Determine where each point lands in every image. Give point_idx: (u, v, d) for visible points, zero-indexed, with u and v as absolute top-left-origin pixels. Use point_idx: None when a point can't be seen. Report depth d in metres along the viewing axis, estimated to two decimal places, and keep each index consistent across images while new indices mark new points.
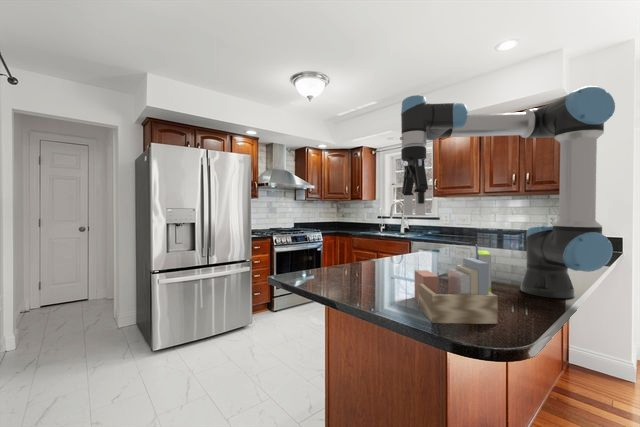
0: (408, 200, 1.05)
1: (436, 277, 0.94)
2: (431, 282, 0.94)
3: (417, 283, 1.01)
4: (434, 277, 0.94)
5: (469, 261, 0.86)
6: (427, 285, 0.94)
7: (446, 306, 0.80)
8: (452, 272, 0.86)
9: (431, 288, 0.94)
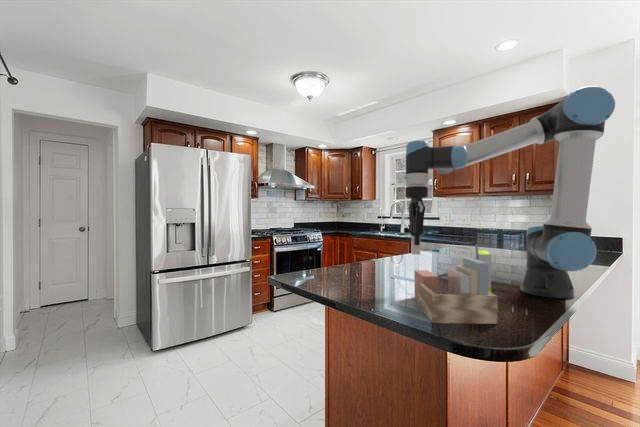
0: None
1: (436, 277, 0.94)
2: (431, 282, 0.94)
3: (417, 283, 1.01)
4: (434, 277, 0.94)
5: (469, 261, 0.86)
6: (427, 285, 0.94)
7: (446, 306, 0.80)
8: (452, 272, 0.86)
9: (431, 288, 0.94)
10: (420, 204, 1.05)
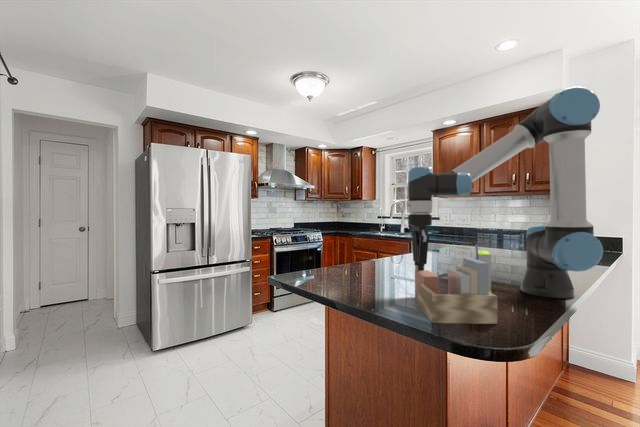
0: (419, 269, 1.06)
1: (437, 277, 0.93)
2: (431, 282, 0.93)
3: (417, 283, 1.00)
4: (435, 277, 0.93)
5: (469, 261, 0.86)
6: (428, 285, 0.93)
7: (446, 306, 0.80)
8: (452, 272, 0.86)
9: (432, 288, 0.93)
10: (424, 233, 1.01)
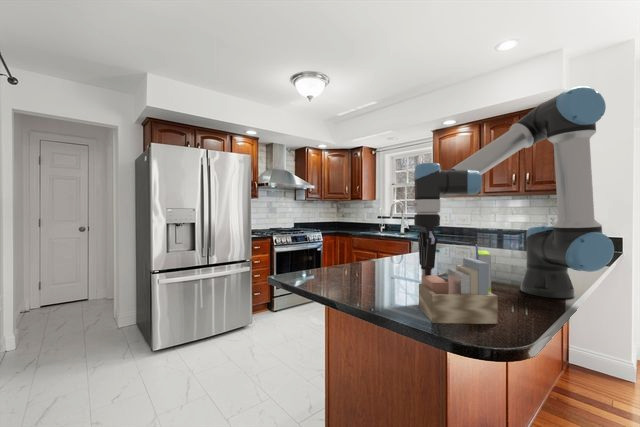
0: None
1: (446, 283, 0.85)
2: (440, 288, 0.85)
3: None
4: (444, 283, 0.85)
5: (469, 261, 0.86)
6: (436, 292, 0.85)
7: (446, 306, 0.80)
8: (452, 272, 0.86)
9: None
10: (431, 235, 0.93)
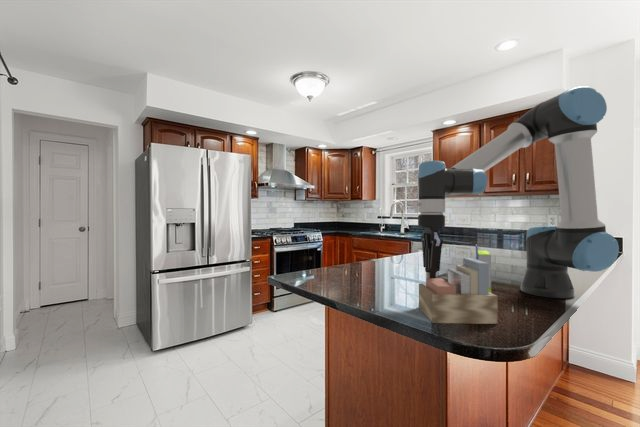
0: None
1: (453, 287, 0.81)
2: (447, 292, 0.81)
3: None
4: (451, 287, 0.81)
5: (469, 261, 0.86)
6: None
7: (446, 306, 0.80)
8: (452, 272, 0.86)
9: None
10: (436, 236, 0.89)
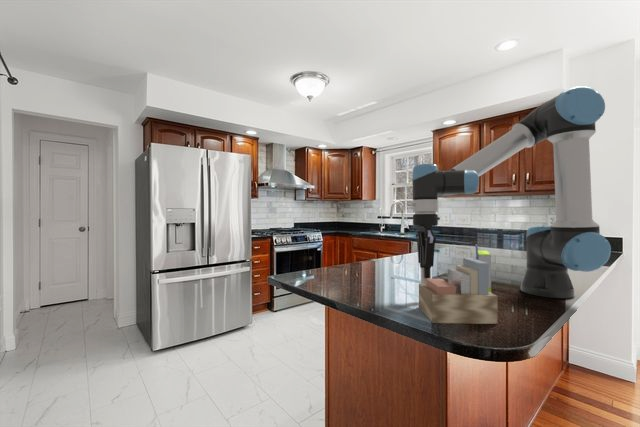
0: None
1: (453, 288, 0.81)
2: (447, 293, 0.81)
3: None
4: (451, 288, 0.81)
5: (469, 261, 0.86)
6: None
7: (446, 306, 0.80)
8: (452, 272, 0.86)
9: None
10: (430, 234, 0.95)
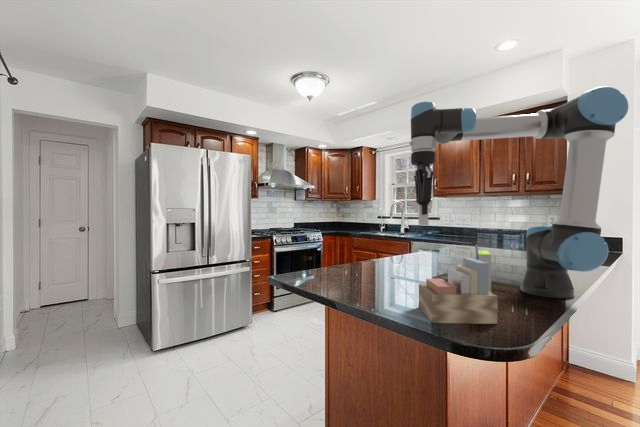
0: None
1: (453, 288, 0.81)
2: (447, 293, 0.81)
3: None
4: (451, 288, 0.81)
5: (469, 261, 0.86)
6: None
7: (446, 306, 0.80)
8: (452, 272, 0.86)
9: None
10: (427, 169, 0.97)
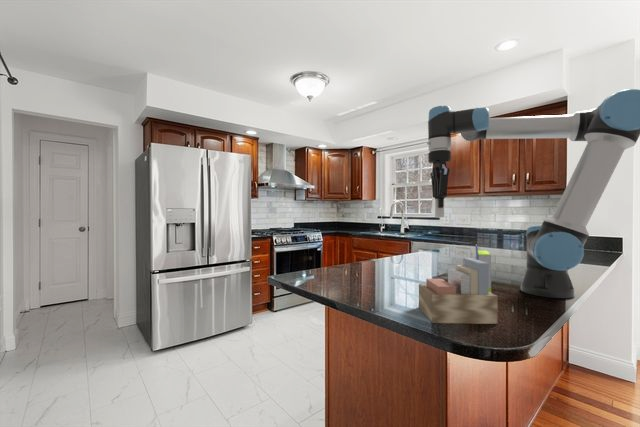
0: None
1: (453, 288, 0.81)
2: (447, 293, 0.81)
3: None
4: (451, 288, 0.81)
5: (469, 261, 0.86)
6: None
7: (446, 306, 0.80)
8: (452, 272, 0.86)
9: None
10: (444, 167, 1.08)
